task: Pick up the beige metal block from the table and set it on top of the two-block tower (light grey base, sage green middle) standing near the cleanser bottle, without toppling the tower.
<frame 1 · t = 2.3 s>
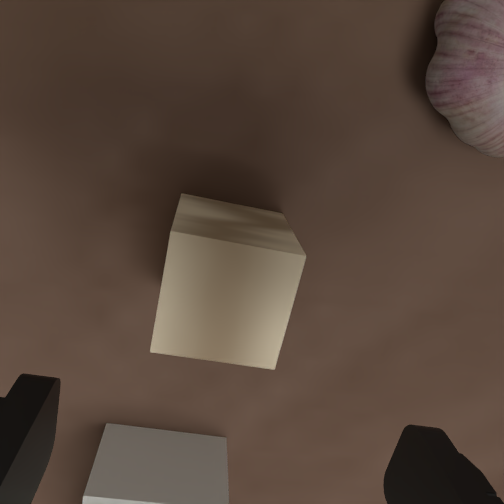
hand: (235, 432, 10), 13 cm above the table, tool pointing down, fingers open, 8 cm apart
beige metal block: (222, 250, 22), on the table
grey base block: (158, 473, 27), on the table, touching sage block
garlic bulb: (480, 68, 21), on the table
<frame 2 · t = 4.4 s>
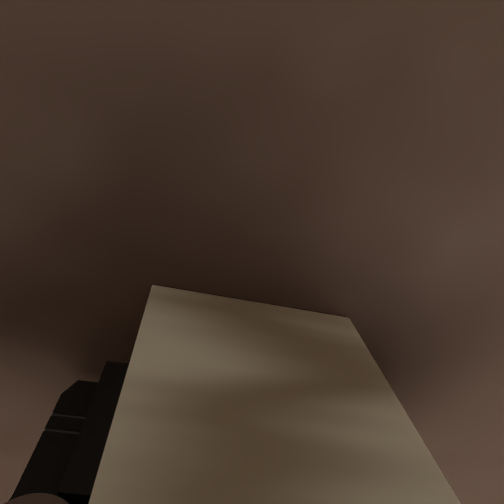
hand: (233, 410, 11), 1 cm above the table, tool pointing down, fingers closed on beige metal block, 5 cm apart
beige metal block: (232, 385, 12), on the table, touching gripper
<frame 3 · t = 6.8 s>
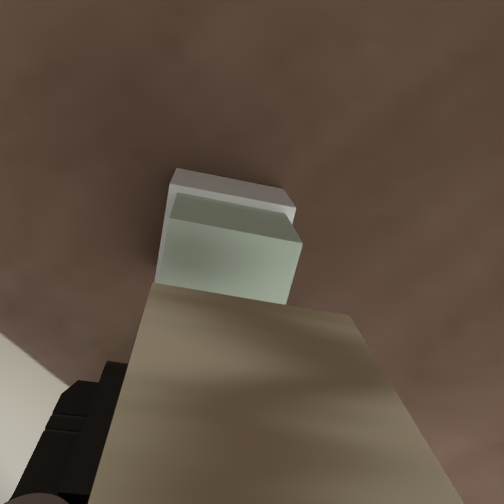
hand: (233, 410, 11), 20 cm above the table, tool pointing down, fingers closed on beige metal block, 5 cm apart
beige metal block: (233, 383, 12), point 19 cm above the table, touching gripper
sage block: (221, 253, 25), point 5 cm above the table
grey base block: (220, 228, 30), on the table
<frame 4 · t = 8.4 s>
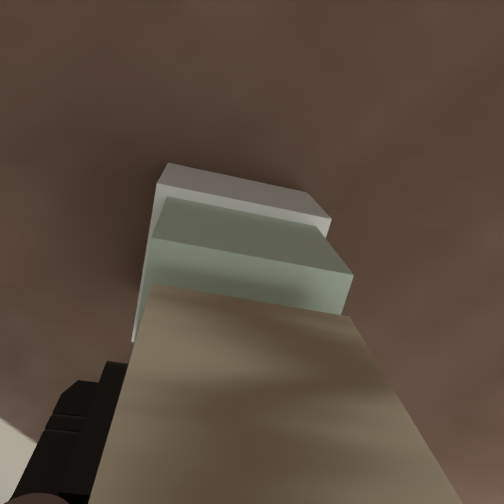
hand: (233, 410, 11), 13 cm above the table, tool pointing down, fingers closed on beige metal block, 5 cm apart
beige metal block: (233, 383, 12), point 12 cm above the table, touching gripper
sage block: (227, 280, 18), point 5 cm above the table, touching grey base block
grey base block: (224, 242, 23), on the table, touching sage block
when the fingers open (12 cm above the table, at t = 9.5 s): beige metal block stays where it is, resting on sage block.
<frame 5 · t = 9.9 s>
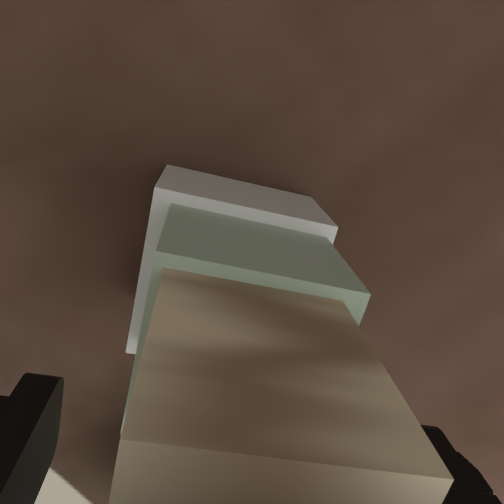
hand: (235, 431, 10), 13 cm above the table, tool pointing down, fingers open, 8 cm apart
beige metal block: (235, 362, 13), point 10 cm above the table, touching sage block
sage block: (232, 291, 17), point 5 cm above the table, touching grey base block, beige metal block
grey base block: (224, 248, 22), on the table, touching sage block
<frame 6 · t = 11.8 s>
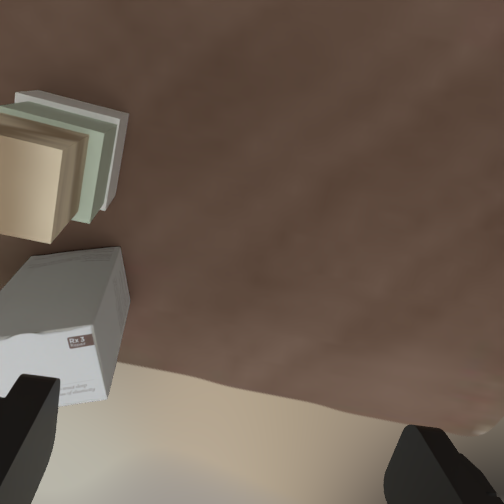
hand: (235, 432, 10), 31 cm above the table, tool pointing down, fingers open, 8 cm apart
beige metal block: (41, 164, 27), point 10 cm above the table, touching sage block
sage block: (68, 154, 32), point 5 cm above the table, touching grey base block, beige metal block
skincare box: (85, 275, 41), on the table
grey base block: (79, 145, 37), on the table, touching sage block
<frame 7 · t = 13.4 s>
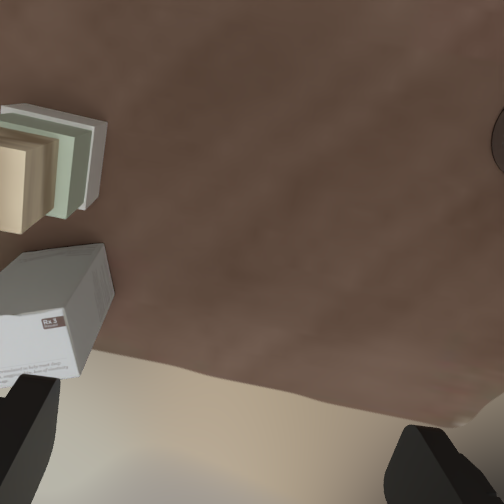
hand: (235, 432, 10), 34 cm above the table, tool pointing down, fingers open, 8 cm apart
beige metal block: (19, 167, 31), point 10 cm above the table, touching sage block
sage block: (49, 159, 36), point 5 cm above the table, touching grey base block, beige metal block
skincare box: (72, 270, 44), on the table
grey base block: (64, 151, 40), on the table, touching sage block
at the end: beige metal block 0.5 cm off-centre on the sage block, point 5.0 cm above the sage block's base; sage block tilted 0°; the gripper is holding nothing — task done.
